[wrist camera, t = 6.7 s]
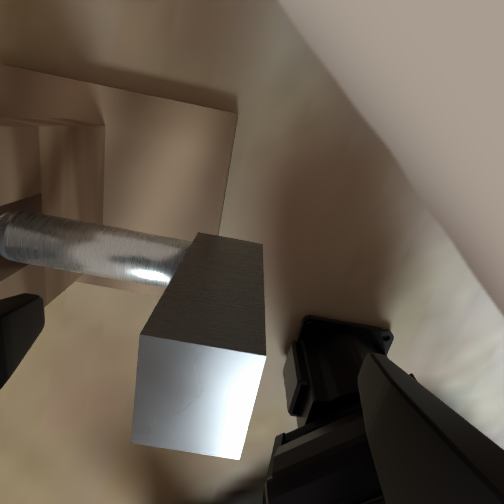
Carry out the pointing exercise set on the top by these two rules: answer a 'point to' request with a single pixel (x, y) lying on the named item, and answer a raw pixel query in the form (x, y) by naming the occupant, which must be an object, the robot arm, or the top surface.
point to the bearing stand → (107, 166)
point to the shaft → (171, 322)
